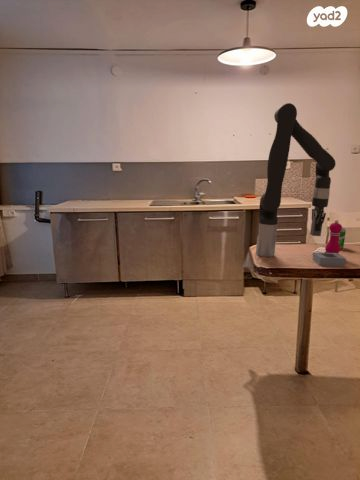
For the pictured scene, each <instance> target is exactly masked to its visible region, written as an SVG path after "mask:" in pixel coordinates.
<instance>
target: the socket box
mask: <svg viewBox="0 0 360 480" xmlns="http://www.w3.org/2000/svg"><path fill="white" fill-rule="evenodd" d="M312 260H313V261H314V262H315V263H316V264H317V265H318V266H322V267H323V266H327V267H345V266H346V261H347V258H345V257H344V256H343V255H342V254H340V252H339V253H326V252H318V251H313V257H312Z"/></svg>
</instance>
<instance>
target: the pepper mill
mask: <svg viewBox="0 0 360 480" xmlns="http://www.w3.org/2000/svg"><path fill="white" fill-rule="evenodd" d="M342 227H343V226H342V224H340V223H339V219H336V220H334V222H333V223H331V224H330V225H329V240H328V242H327V243H326V244H325V248H324V250H325V251H326V252H325V253H339V254H340V252H341V249H340V245H339V242H338V238H339V236H340V231H341V230H342Z"/></svg>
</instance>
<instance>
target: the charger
mask: <svg viewBox="0 0 360 480" xmlns="http://www.w3.org/2000/svg"><path fill="white" fill-rule="evenodd" d="M318 218H319V217H318ZM310 226H311V227H310V232H309V234H310V236H312V237H321V234H322V229H323V224H321V227H320V231H315V228H316V216H313V217H312V216H311V225H310Z"/></svg>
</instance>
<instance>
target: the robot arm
mask: <svg viewBox="0 0 360 480" xmlns="http://www.w3.org/2000/svg"><path fill="white" fill-rule="evenodd" d="M297 116H298V110H297V107H296V105H295V104H293V103H292V102H291V103H290V102H289V103H288V102H287V103H284V104H282V105H281V106H279V107H278V108H277V109H276V110H275V112H274V117H273V118H274V121H275V122H276V123H277V124H276V130H275V136H274V139H273V141H272V144H271V147H270V150H269V154H268V159H267V166H266V169H267V171H266V172H267V175H266V176H267V181H266V182H267V183H266V184H267V185H266V189H265V192H264V193H263V194H262V195H261V197H260V199H259V210H258V212H259V213H258V217H259V219H258V235H257V236H256V249H255V254H256V255H257V256H258V257H262V258H263V257H264V258H272V257H275V254H276V253H275V252H276V242H277V241H276V240H277V232H278V231H277V230H278V223H279V222H278V221H279V220H278V209H279V208H280V205H281V202H282V191H283V189H282V188H283V184H284V179H285V174H286V171H287V170H286V169H287V165H288V159H289V154H290V149H291V147H290V146H291V141H292V138H293V139H294V140H295V141H296V143H297V144H298V145H299V146H300V148H301V149H302V150H303V151H304V152H305V153H306V154H307V156H308V157H309V158H310V159H313V160H314V161H315V162H316V163H315V183H314V188H313V192H312V193H313V194H312V201H311V206H312V207H314V208H311V218H312V217H313V216H316V228H315V231H320V227H321V224H322V225H324V221H325V219H326V215H327V213H326V212H325V210H324V209H325V208H328V205H329V200H330V192H331V191H330V190H331V183H332V182H331V181H332V179H331V177H330V172H331V171H332V170H334V169H335V167H336V159H335V158H334V157H333V155H331V154H330V152H328V151H327V150H326V149H325V148H323V147H322V145H321V144H320V142H319V141H318V140H317V139H316V138H315V137H314V135H312V134H311V132H309V131H308V130H306V129H305V128H303V126H302V124H301V123H299V122H298V120H297ZM318 217H319V218H318Z"/></svg>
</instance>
